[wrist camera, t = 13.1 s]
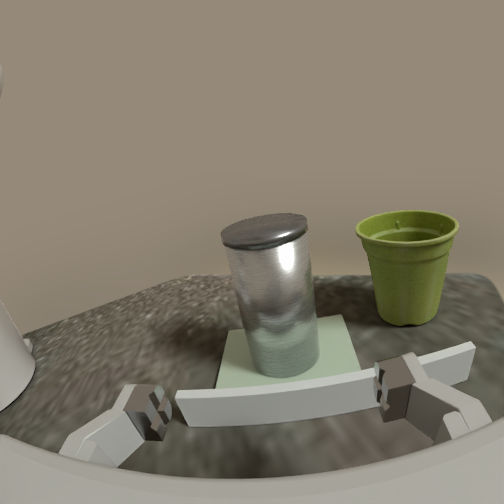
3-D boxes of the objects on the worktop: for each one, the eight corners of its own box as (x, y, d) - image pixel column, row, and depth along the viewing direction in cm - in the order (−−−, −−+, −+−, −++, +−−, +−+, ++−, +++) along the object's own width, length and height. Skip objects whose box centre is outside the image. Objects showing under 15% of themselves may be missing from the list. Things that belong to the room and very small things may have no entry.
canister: (248, 382, 22) (213, 245, 19) (253, 339, 28) (227, 221, 24) (325, 373, 21) (311, 230, 18) (317, 330, 27) (302, 209, 23)
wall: (189, 426, 19) (174, 398, 18) (191, 418, 20) (177, 390, 19) (467, 379, 17) (475, 347, 16) (462, 373, 17) (470, 341, 16)
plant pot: (412, 354, 21) (418, 251, 19) (341, 312, 30) (333, 227, 27) (469, 306, 24) (476, 219, 22) (402, 279, 33) (400, 205, 30)
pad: (213, 407, 21) (211, 404, 20) (229, 333, 30) (228, 330, 30) (365, 389, 19) (366, 385, 19) (341, 317, 29) (341, 314, 29)
